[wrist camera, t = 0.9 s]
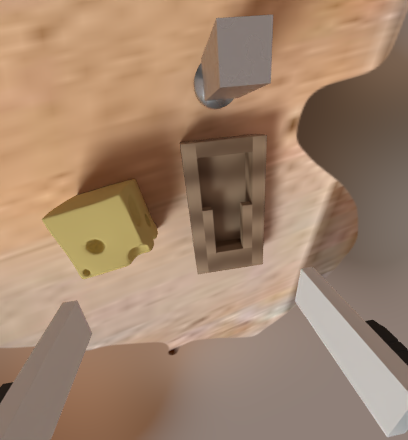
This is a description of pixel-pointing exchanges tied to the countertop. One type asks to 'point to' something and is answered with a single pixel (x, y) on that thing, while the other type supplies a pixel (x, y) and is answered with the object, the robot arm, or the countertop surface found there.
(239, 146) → the keyhole plate
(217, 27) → the peg
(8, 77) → the countertop surface
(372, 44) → the countertop surface
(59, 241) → the cheese
